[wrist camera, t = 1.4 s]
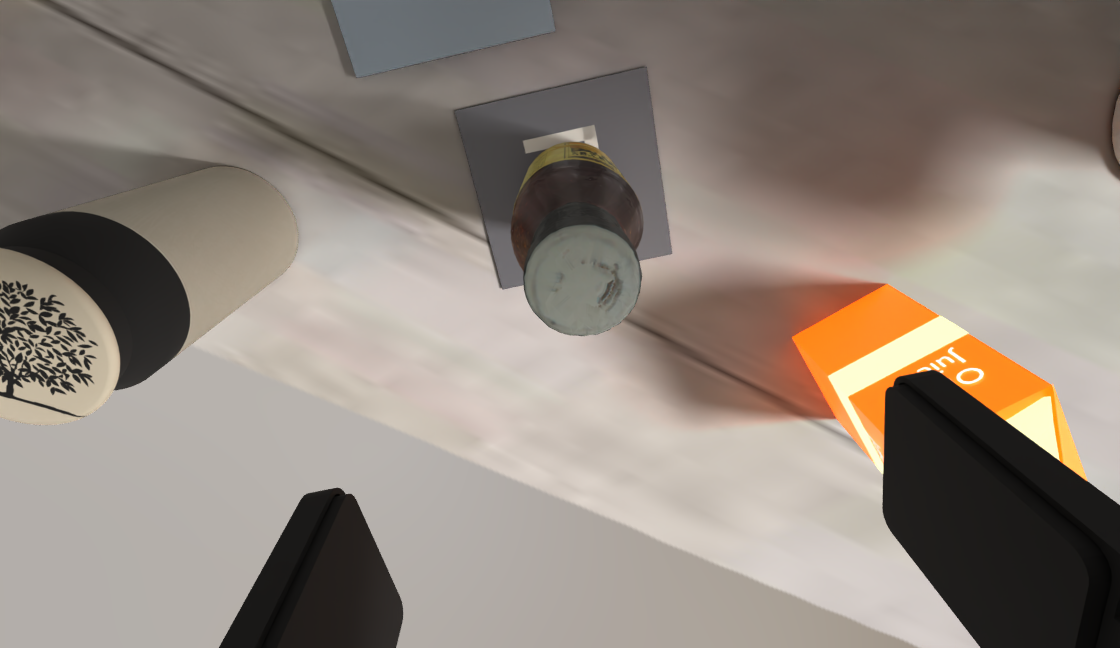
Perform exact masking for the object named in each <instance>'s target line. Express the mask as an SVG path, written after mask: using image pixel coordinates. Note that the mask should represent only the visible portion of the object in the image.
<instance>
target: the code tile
mask: <svg viewBox="0 0 1120 648" xmlns="http://www.w3.org/2000/svg"><path fill="white" fill-rule="evenodd" d="M455 114H456V118H457V122H458V125H459V129H460V133H461V136H462V140H463V144H464V148H465V151H466V155H467V159H468V162H469V166H470V170H471V174H472V177H473V181H474V185H475V189H476V192H477V196H478V200H479V203H480V207H481V211H482V215H483V218H484V222H485V226H486V229H487V233H488V237H489V241H490V244H491V248H492V252H493V255H494V259H495V263H496V267H497V270H498V274H499V278H500V281H501V285H502V289H507V288H512V287H517V286H521V285H524V281H523V273H524V272H523V270H522V268H521V267H520V266H519V263H518V262H517V259H516V256H515V254H514V250H513V247H512V243H511V242H512V241H511V234H510V231H511V221H512V216H513V209H514V205H515V202H516V198H517V196H518V193H519V191H520V188H521V185H522V183H523V181H524V178H525V176H526V173H527V171H528V168H529V166H530V165H531V164H532V162H533V161H534V160H535V159H536V158H537V157H538V156H539V155H540V154H541V153H542V152H544V151H545V150H547V149H548V148H550V147H552V146H554V145H557V144H560V143H564V142H581V143H586V144H589V145H592V146H594V147H596V148H598V149H599V150H601V151H602V152H603V153H605V154H606V155H607V156H608V157H609V158H610V159H611V161H612V162H613V163H614V165H615V166H616V167H617V169H618V170H619V171H620V173H621V174H622V175H623V176H624V178H625V179H626V181H627V182H628V183H629V185H630V186H631V188H632V189H633V190H634V192H635V194H636V196H637V198H638V200H639V202H640V205H641V209H642V213H643V221H644V225H643V234H642V238H641V241H640V243H639V246H638V248H637V250H636V252H637V255H638V258H639V261H641V260H645V259H650V258H655V257H660V256H664V255H669V254H672V248H671V241H670V234H669V226H668V219H667V212H666V204H665V197H664V190H663V183H662V175H661V168H660V161H659V154H658V146H657V139H656V132H655V125H654V117H653V110H652V103H651V95H650V88H649V81H648V74H647V67H643V68H639V69H635V70H630V71H626V72H621V73H617V74H613V75H608V76H604V77H600V78H595V79H591V80H587V81H582V82H578V83H574V84H569V85H565V86H561V87H556V88H552V89H548V90H543V91H539V92H534V93H530V94H526V95H521V96H517V97H513V98H508V99H504V100H500V101H495V102H491V103H487V104H482V105H478V106H474V107H469V108H465V109H460V110H456V111H455Z"/></svg>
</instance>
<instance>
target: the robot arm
mask: <svg viewBox="0 0 1120 648" xmlns="http://www.w3.org/2000/svg"><path fill="white" fill-rule="evenodd" d="M1112 141H1113V146H1114V151H1115V156H1116V158H1117V160H1118V162H1119V164H1120V94H1119V97H1118V100H1117V103H1116V108H1115V112H1114V117H1113V126H1112ZM883 515H884V518H885V521H886V524H887V526H888V528H889V529H890V531H891V532H892V534H893V535H894V536H895V537H896V539H897V540H898V541H899V543H900V544H901V545H902V547H903V548H904V549H905V550H906V552H907V553H908V554H909V556H910V557H911V558H912V559H913V561H914V562H915V563H916V565H917V566H918V567H919V569H920V570H921V571H922V572H923V574H924V575H925V576H926V578H927V579H928V580H929V581H930V583H931V584H932V585H933V587H934V588H935V589H936V591H937V592H938V593H939V594H940V596H941V597H942V598H943V600H944V601H945V602H946V604H947V605H948V606H949V607H950V609H951V610H952V611H953V613H954V614H955V615H956V616H957V618H958V619H959V620H960V622H961V623H962V624H963V626H964V627H965V628H966V629H967V631H968V632H969V633H970V635H971V636H972V637H973V639H974V640H975V641H976V642H977V644H978V645H979V646H980V648H1120V505H1119V504H1117V503H1116V502H1115V501H1113V500H1112V499H1111V498H1109V497H1108V496H1107V495H1105V494H1104V493H1103V492H1101V491H1100V490H1098V489H1097V488H1096V487H1094V486H1093V485H1092V484H1090V483H1089V482H1088V481H1086V480H1085V479H1084V478H1082V477H1081V476H1080V475H1078V474H1077V473H1076V472H1074V471H1073V470H1071V469H1070V468H1069V467H1067V466H1066V465H1065V464H1063V463H1062V462H1061V461H1059V460H1058V459H1057V458H1055V457H1054V456H1053V455H1051V454H1050V453H1049V452H1047V451H1046V450H1045V449H1043V448H1042V447H1040V446H1039V445H1038V444H1036V443H1035V442H1034V441H1032V440H1031V439H1030V438H1028V437H1027V436H1026V435H1024V434H1023V433H1022V432H1020V431H1019V430H1018V429H1016V428H1015V427H1014V426H1012V425H1011V424H1009V423H1008V422H1007V421H1005V420H1004V419H1003V418H1001V417H1000V416H999V415H997V414H996V413H995V412H993V411H992V410H991V409H989V408H988V407H987V406H985V405H984V404H983V403H981V402H980V401H978V400H977V399H976V398H974V397H973V396H972V395H970V394H969V393H968V392H966V391H965V390H964V389H962V388H961V387H960V386H958V385H957V384H956V383H954V382H953V381H952V380H950V379H949V378H947V377H946V376H945V375H943V374H942V373H941V372H939V371H937V370H928V371H923V372H918V373H913V374H908V375H903V376H899V377H897V378H896V379H895V381H894V385H893V386H892V387H889V388H887V390H886V391H885V414H884V462H883ZM402 620H403V606H402V601H401V599H400V596H399V594H398V592H397V589H396V587H395V585H394V583H393V580H392V578H391V576H390V574H389V572H388V569H387V567H386V565H385V563H384V560H383V558H382V556H381V554H380V552H379V549H378V547H377V545H376V543H375V541H374V538H373V536H372V534H371V532H370V529H369V527H368V525H367V523H366V521H365V518H364V516H363V514H362V512H361V510H360V507H359V505H358V503H357V501H356V499H355V497H354V496H353V495H352V494H345V493H344V491H343V490H342V489H340V488H333V489H328V490H323V491H318V492H313V493H308V494H306V495H304V496H303V498H302V499H301V500H300V502H299V504H298V506H297V508H296V509H295V511H294V513H293V515H292V517H291V519H290V520H289V522H288V524H287V526H286V528H285V529H284V531H283V533H282V535H281V536H280V538H279V540H278V542H277V544H276V545H275V547H274V549H273V551H272V553H271V555H270V556H269V558H268V560H267V562H266V564H265V565H264V567H263V569H262V571H261V573H260V575H259V576H258V578H257V580H256V582H255V584H254V586H253V587H252V589H251V591H250V593H249V594H248V596H247V598H246V600H245V602H244V604H243V605H242V607H241V609H240V611H239V612H238V614H237V616H236V618H235V620H234V621H233V623H232V625H231V627H230V629H229V630H228V632H227V634H226V636H225V638H224V639H223V641H222V643H221V645H220V647H219V648H396V645H397V641H398V637H399V633H400V629H401V625H402Z"/></svg>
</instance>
